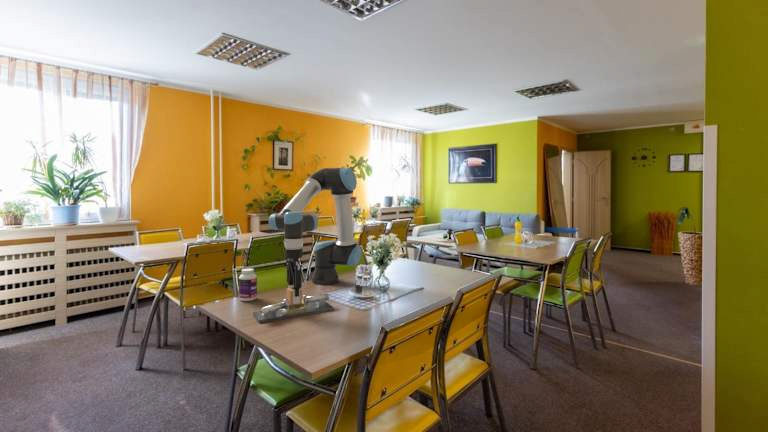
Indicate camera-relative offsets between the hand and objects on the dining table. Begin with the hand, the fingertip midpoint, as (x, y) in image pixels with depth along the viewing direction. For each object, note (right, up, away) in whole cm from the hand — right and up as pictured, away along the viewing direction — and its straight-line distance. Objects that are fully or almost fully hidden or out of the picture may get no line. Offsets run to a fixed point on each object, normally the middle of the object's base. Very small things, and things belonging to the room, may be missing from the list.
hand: (294, 301), depth 158 cm
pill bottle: (-26, -3, +18) cm, 32 cm away
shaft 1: (-6, -4, -7) cm, 10 cm away
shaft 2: (+8, -3, +5) cm, 10 cm away
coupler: (0, 0, 0) cm, 0 cm away
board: (0, -5, 0) cm, 5 cm away
